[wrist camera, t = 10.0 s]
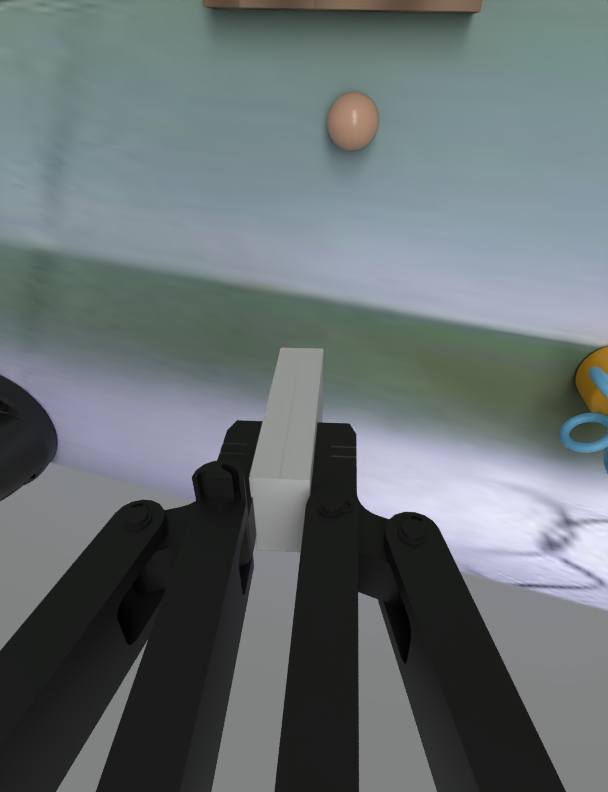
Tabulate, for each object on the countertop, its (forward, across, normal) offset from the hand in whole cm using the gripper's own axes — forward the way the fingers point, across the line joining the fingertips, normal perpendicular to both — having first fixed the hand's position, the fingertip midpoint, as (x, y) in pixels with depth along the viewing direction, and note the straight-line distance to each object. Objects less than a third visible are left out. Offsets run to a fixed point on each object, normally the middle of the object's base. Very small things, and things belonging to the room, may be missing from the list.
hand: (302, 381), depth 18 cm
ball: (+23, -2, -6) cm, 24 cm away
